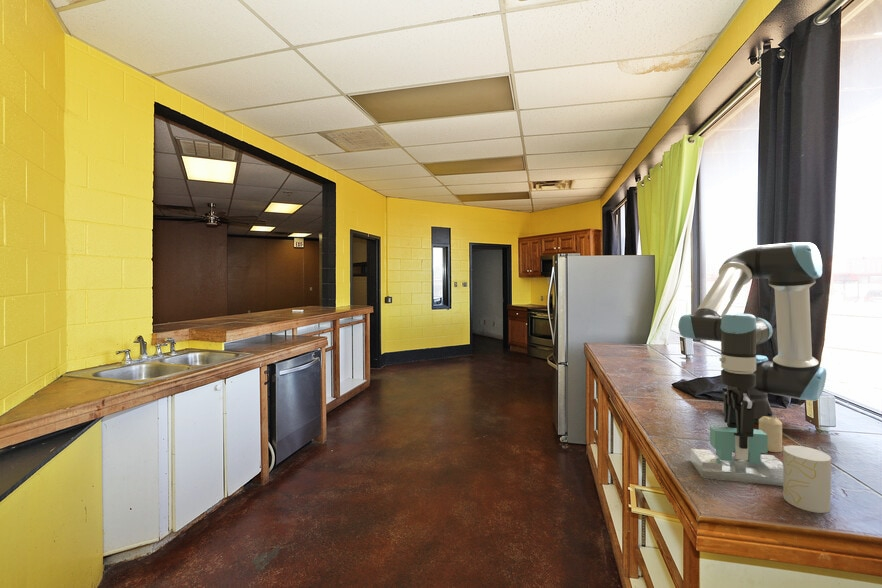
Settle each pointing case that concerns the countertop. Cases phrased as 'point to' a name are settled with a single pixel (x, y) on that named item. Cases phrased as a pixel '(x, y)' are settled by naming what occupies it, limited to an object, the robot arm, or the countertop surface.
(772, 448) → the candle
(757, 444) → the teal notched block
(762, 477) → the white block holder tray
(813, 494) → the cup
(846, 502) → the countertop surface
